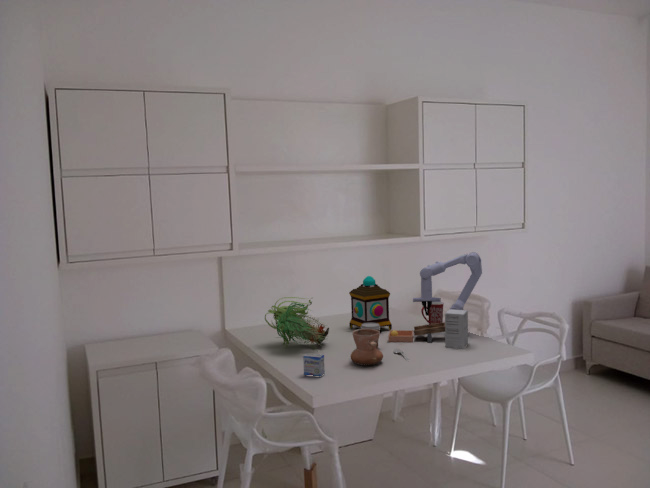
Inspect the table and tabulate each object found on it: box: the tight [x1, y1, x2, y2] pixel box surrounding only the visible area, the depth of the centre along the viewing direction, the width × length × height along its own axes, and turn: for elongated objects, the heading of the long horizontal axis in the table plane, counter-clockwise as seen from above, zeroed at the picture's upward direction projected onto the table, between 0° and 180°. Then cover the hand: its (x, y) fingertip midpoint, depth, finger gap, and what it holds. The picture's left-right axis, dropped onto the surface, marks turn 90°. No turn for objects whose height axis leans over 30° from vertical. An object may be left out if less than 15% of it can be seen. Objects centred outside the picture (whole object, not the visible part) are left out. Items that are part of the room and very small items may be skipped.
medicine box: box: [302, 353, 326, 377], centre depth 235 cm, size 8×4×9 cm, turn 69°
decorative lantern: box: [348, 275, 393, 331], centre depth 310 cm, size 20×20×30 cm
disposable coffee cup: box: [360, 323, 381, 350], centre depth 271 cm, size 10×10×12 cm
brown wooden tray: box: [413, 321, 445, 337], centre depth 288 cm, size 16×16×3 cm
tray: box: [387, 329, 414, 343], centre depth 288 cm, size 12×12×3 cm
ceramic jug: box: [350, 328, 384, 366], centre depth 250 cm, size 18×14×14 cm
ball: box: [391, 329, 398, 336], centre depth 289 cm, size 4×4×4 cm
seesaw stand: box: [426, 333, 433, 344], centre depth 285 cm, size 2×13×5 cm, turn 170°
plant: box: [264, 296, 330, 352], centre depth 281 cm, size 30×30×35 cm
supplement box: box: [444, 308, 469, 350], centre depth 272 cm, size 10×9×17 cm
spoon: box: [393, 347, 411, 360], centre depth 257 cm, size 4×21×2 cm, turn 13°
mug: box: [420, 301, 445, 325], centre depth 311 cm, size 13×9×14 cm
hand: (427, 315), depth 299 cm, fingers closed
